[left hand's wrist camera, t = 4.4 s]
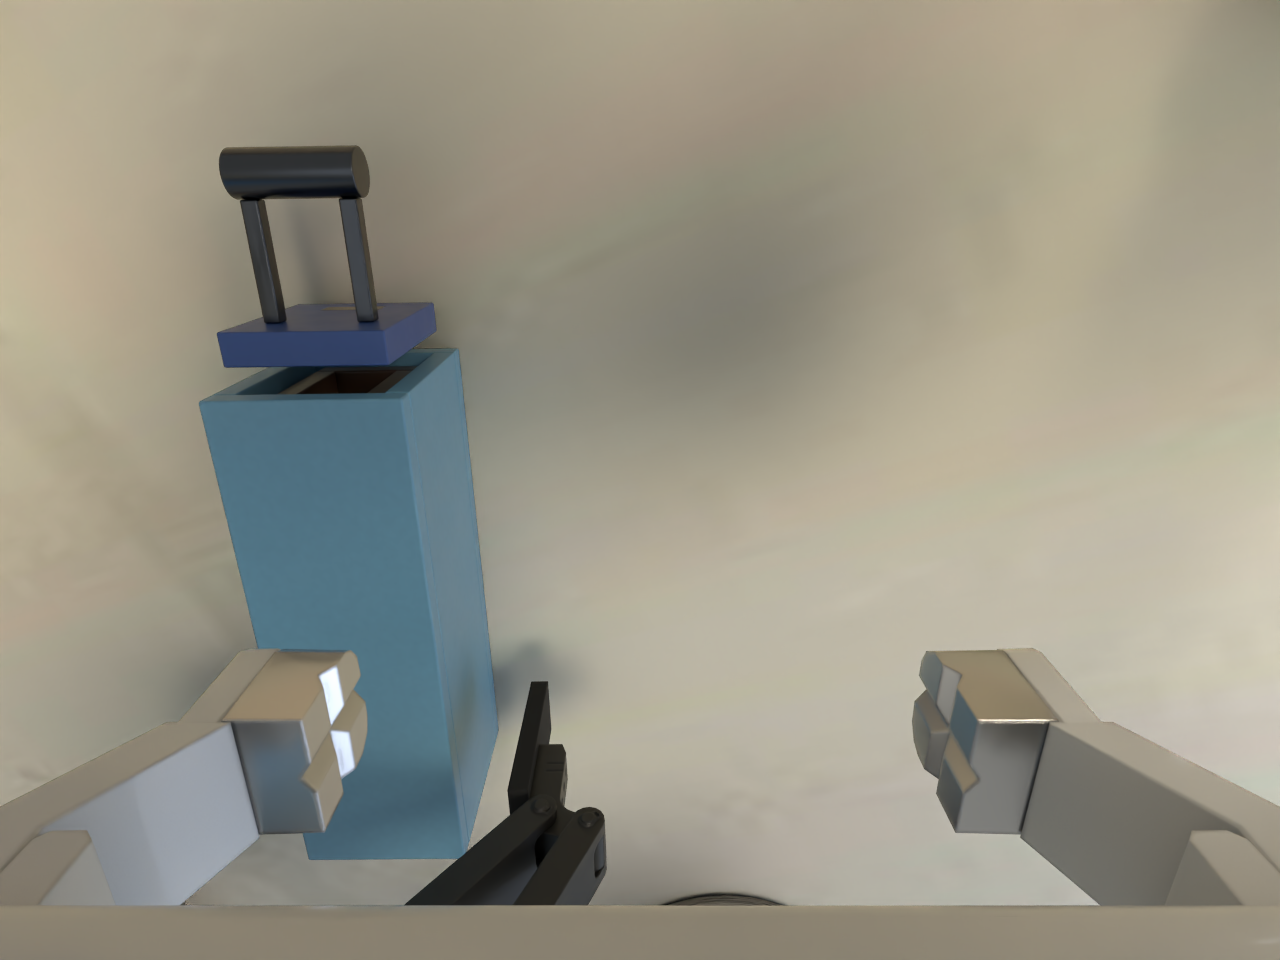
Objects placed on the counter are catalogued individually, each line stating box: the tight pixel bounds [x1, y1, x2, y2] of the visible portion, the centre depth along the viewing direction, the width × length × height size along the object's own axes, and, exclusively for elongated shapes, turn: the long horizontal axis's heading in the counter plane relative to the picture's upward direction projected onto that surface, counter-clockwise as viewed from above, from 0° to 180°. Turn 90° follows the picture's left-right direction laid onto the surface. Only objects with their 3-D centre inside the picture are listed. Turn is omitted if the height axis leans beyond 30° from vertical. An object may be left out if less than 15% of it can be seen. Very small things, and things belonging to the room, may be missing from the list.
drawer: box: [217, 146, 436, 394], centre depth 30 cm, size 25×6×6 cm, turn 1°
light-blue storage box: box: [199, 348, 498, 860], centre depth 32 cm, size 21×7×8 cm, turn 1°
